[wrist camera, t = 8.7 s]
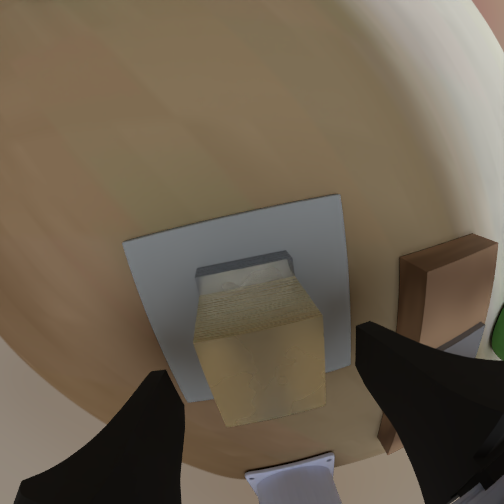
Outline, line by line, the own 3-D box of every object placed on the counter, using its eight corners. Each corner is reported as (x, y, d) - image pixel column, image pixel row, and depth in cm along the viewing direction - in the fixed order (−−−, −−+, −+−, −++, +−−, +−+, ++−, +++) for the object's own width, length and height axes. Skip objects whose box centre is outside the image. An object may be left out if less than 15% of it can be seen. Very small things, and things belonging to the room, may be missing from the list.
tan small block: (299, 354, 14) (325, 416, 9) (226, 370, 14) (231, 437, 9) (285, 249, 12) (320, 292, 8) (196, 267, 12) (185, 320, 8)
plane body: (435, 407, 19) (449, 424, 16) (377, 436, 19) (389, 458, 16) (472, 233, 14) (503, 244, 11) (399, 257, 13) (433, 275, 11)
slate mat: (348, 360, 15) (350, 364, 15) (188, 398, 14) (187, 402, 14) (336, 193, 12) (340, 194, 12) (125, 240, 12) (122, 243, 11)
